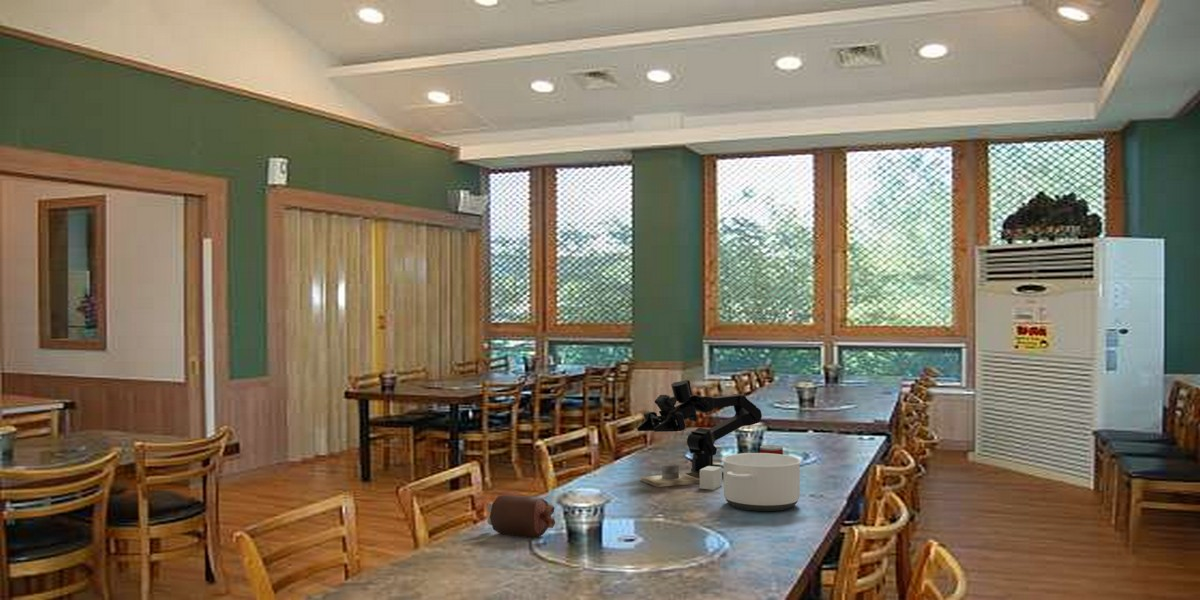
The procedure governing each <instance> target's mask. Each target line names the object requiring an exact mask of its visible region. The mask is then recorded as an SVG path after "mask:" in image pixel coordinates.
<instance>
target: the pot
mask: <svg viewBox="0 0 1200 600" xmlns="http://www.w3.org/2000/svg"><path fill="white" fill-rule="evenodd" d="M721 462H722V463H723V466H722V469H723V497H724V499H725V501H726V502H727V503H728V504H729V505H730V506H733V507H734V508H737V509H740V510H745V511H753V512H777V511H784V510H788V509H791V508H792V507H794V506H796V504H797V503H798V502H799V500H800V495H801V494H800V493H801V492H800V491H801V487H800V486H801V485H800V484H801V479H800V478H801V476H800V475H801V474H800V473H801V472H800V471H801V470H800V465H801V464H802V460H801V459H800V458H798V457H795V456H793V455H788V454H783V455H782V454H772V453H760V452H745V453H743V452H742V453H734V454H729V455H726V456H723V457H722V458H721Z"/></svg>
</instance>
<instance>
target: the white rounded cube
mask: <svg viewBox="0 0 1200 600" xmlns="http://www.w3.org/2000/svg"><path fill="white" fill-rule="evenodd" d="M699 479H700V483H699V489H705V490H711V491H712V490H716V489H718V488H720V487H721V486H723V466H714V465H713V466H707V467H704V468H702V469H700V473H699Z"/></svg>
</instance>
